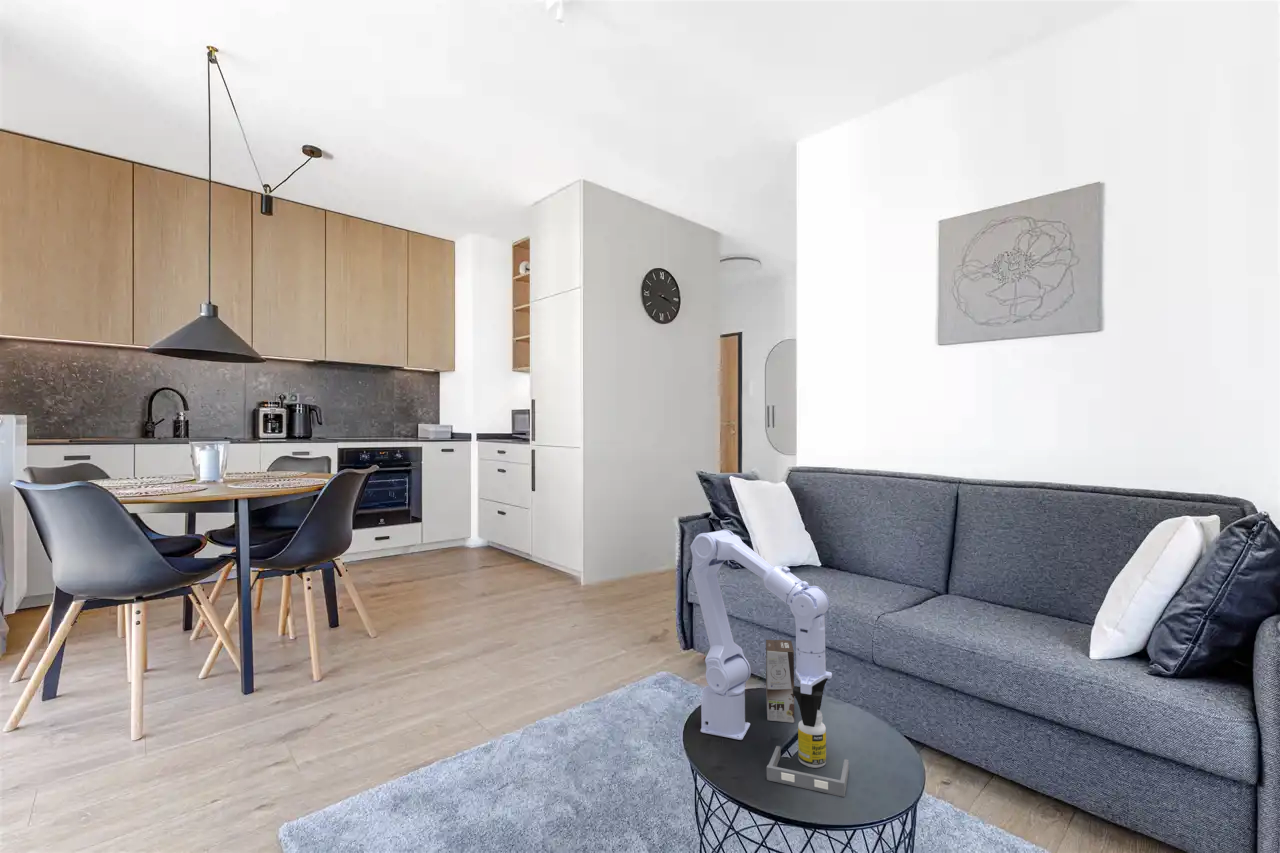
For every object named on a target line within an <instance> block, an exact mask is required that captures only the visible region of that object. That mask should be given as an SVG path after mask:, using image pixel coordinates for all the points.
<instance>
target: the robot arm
mask: <svg viewBox="0 0 1280 853" xmlns="http://www.w3.org/2000/svg"><path fill="white" fill-rule="evenodd" d="M689 547H690V551H691V556H692V559H691V560H692V562H691V563H692V564H691V574H692V579H693V582H694V584H695V585H694V586H695V590H696V594H697V598H698V602H699V607H700V610H701V615H702V619H703V622H704V627H705V631H706V635H707V639H708V643H709V650H708V652H707V654H706V657H705V659H704V662H705V667H706V670H705V680H706V682H707V685H705V686H704V688H703V690H702V693H701V701H700V704H701V705H700V706H701V708H700V709H701V715H700V716H701V718H700V719H701V721H700V722H701V728H700V733H703V734H708V735H712V736H717V737H724V738H729V739H733V740H739V741H742V740H744V738H745V736H746V734H747V733H748V730H749V729H750V727H751V723H750V722H748V721H747V722H746V693H745V692H746V689H745V688H746V686H747V685H746V684H747V682H748V680H749V679H750V678H751V674H752V671H751V670H752V669H751V665H750V663H749V661H748V660H747V658H746V657H745V654H744V650H743V648H742V647H741V646H740V645H738V644H737V643H736V642H734V641H735V640H734V637H733V634H732V629H731V626H730V621H729V617H728V613H727V610H726V605H725V602H724V598H723V595H722V589H721V587H720V581H719V578H718V575H717V574H718V571H719V570H720V569H721V567H722V565H723V564H724V563H725V562H726V561H735V562H736V563H738V564H739V565H741V566H742V567H743V568H745V569H747V570H748V571H750V572H752V573H753V574H755V575H756V576H758V577H759V578H761V579H762V580H763V584H764V588H765V589H767V590H768V591H769V592H771V593H772V594H773V595H775V596H776V597H777V598H778V599H780V600H781V601H782V602H784V603H785V604H786V605H788V606H789V609H790V611H791V612H790V613H792V615H793V617H794V621H795V660H796V661H795V662H796V663H795V664H796V668H795V669H794V673H795V677H796V678H797V679H798V681H799V684H800V686H795V685H794V687H793V694H794V699H795V700H796V702H797V705H798V707H799V711H800V717H801V720H802V721H803V724H804V725H805V726H811V727H814V726H815V723H816V717H817V710H819V711H821V707H822V702H823V696H824V689H825V686H826V683H827V681H828V680H831V679H832V677H833V673H832V672H831V671H828V670H827V669H826V667H827V666H826V663H827V662H826V661H827V659H826V625H825V624H826V623H825V621H826V620H825V618H826V617H825V613H826V612H827V611H828V609H829V607H830V599H829V596H828V594H827V593H826V592H825V591H824V590H823V589H822V588H821V587H820V586H818V585H812V586H811V585H809V582H807V581H806V580H804V581H803V580H801V579H800V578H798V577H797V576H796V575H795V574H793V573H792V572H791V569H790V568H789V567H788V566H782V565H776V566H773V565H772V564H770V563H769V562H768V561H766V559H764V558H763V557H762V556H760V555H759V554H758V553H757V552H756V551H754V550H753V549H752V548H751V547H750V546H748V545H747V544H746V543H744V541H742V538H741V537H740V536H739V535H736V534H735V533H733V531H732V530H730V529H724V528H723V529H720V530H717V531H716V530H715V531H711V532H702V533H698V534H697V535H696V536H695V537H694V539H693V541H692V542H691V544H690V545H689Z"/></svg>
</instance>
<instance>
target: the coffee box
mask: <svg viewBox="0 0 1280 853" xmlns="http://www.w3.org/2000/svg"><path fill="white" fill-rule="evenodd" d="M793 646H794V645H793V642H792V640H788V639H765V680H766V681H765V682H766V683H765V685H766V688H765V690H766V694H765V695H766V717H767V721H769V722H770V721H771V722H781V723H782V722H783V723H791V724H793V723H795V696H794V694H793V687H794V686H795V651H794V647H793Z"/></svg>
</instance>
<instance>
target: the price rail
mask: <svg viewBox="0 0 1280 853" xmlns="http://www.w3.org/2000/svg"><path fill="white" fill-rule="evenodd" d="M781 752H782V751H781V746H780V745H776V746H775V749H774V751H773V753H772V756H771V758H770V760H769V762H768V764H767V766H766V781H770V782H773V783H774V782H775V783H779V784H783V785H788V786H792V787H798V788H801V789H807V790H811V791H815V792H820V793H824V794H828V795H834V796H837V797H842V798H845V796H846V789H847V783H848V778H849V772H850V763H849V762H850V761H849V759H846V758H844V759H843V764H842V770H841V775H840V779H836V778H832V777H825V776H821V775H816V774H812V773H807V772H802V771H798V770H793V769H789V768H784V767H783V768H782V767H779V766H778V764H779V761H780V759H781V755H782V754H781Z"/></svg>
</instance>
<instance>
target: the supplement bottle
mask: <svg viewBox="0 0 1280 853" xmlns="http://www.w3.org/2000/svg"><path fill="white" fill-rule="evenodd" d="M797 725H798V726H797V729H798V730H797V734H798V735H797V746H798V748H797V749H798V750H797V751H798V752H797V753H798V754H797V756H798V757H797V759H798V761H799V762H800V764H802V765H804V766H806V767H809V768H813V769H814V768H815V769H818V768H822V767H824V766H826V764H827V727H826V724H824V722H823V713H822V711H821V710H817V717H816V723H815V726H814V727H811V726H805V725H804V724H803V721H802V719H801V720H800V721H799V722H798V724H797Z"/></svg>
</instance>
